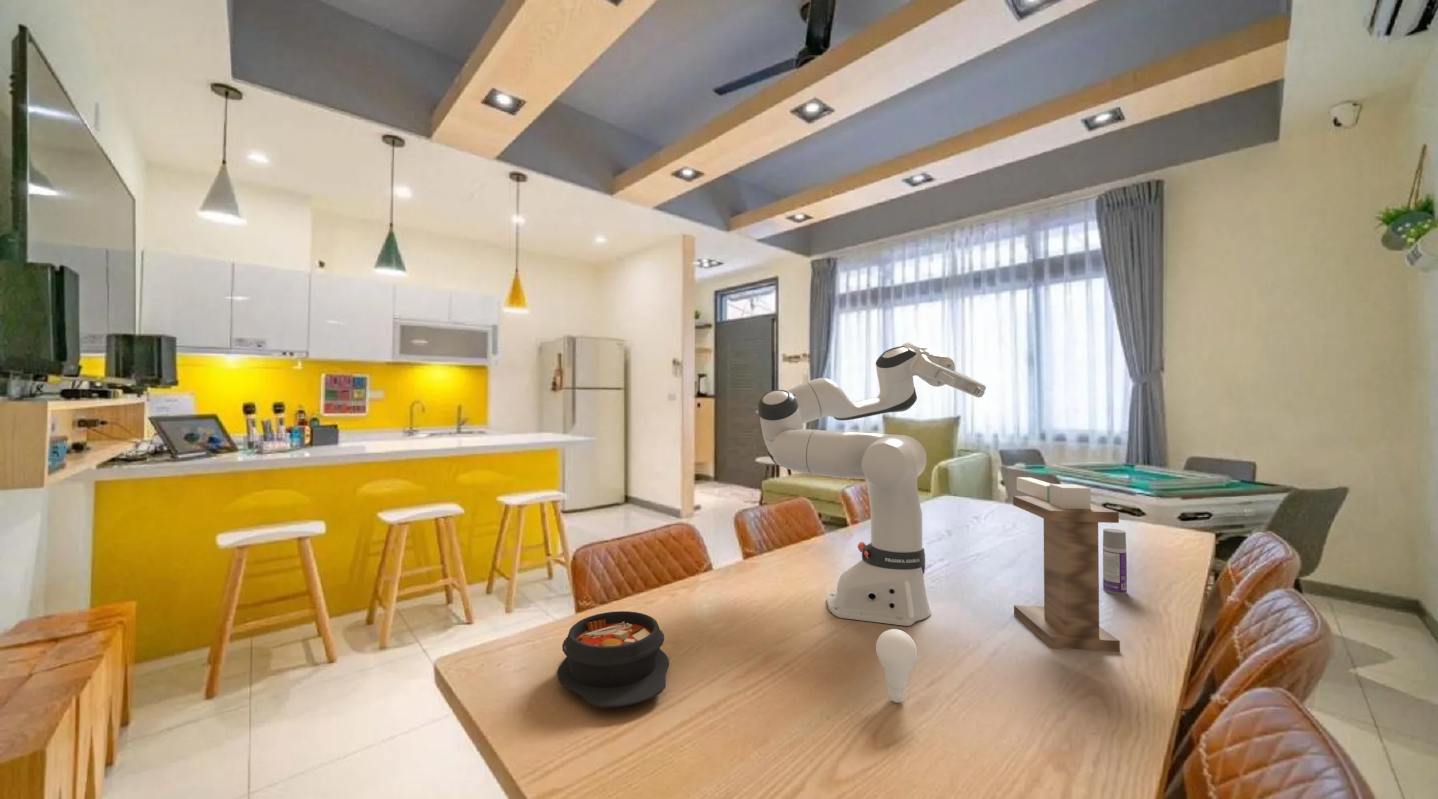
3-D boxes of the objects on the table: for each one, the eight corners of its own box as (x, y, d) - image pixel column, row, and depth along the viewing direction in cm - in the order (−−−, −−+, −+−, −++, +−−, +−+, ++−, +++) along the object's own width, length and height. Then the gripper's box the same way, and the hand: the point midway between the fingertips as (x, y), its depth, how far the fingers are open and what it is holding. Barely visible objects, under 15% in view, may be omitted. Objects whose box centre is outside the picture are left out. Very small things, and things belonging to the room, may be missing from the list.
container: (1118, 588, 131) (1118, 528, 131) (1131, 595, 126) (1130, 533, 126) (1098, 587, 131) (1098, 528, 132) (1110, 594, 127) (1110, 532, 127)
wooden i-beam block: (1051, 648, 99) (1050, 510, 99) (1014, 614, 115) (1013, 496, 115) (1119, 651, 97) (1118, 512, 98) (1072, 616, 113) (1071, 497, 114)
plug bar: (1062, 508, 101) (1062, 487, 101) (1012, 489, 123) (1012, 472, 124) (1090, 509, 101) (1090, 488, 101) (1034, 490, 123) (1034, 473, 123)
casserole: (548, 656, 96) (548, 610, 96) (645, 637, 104) (645, 594, 104) (569, 733, 73) (569, 673, 73) (692, 702, 81) (692, 648, 81)
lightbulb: (919, 696, 82) (918, 626, 83) (916, 717, 77) (915, 642, 77) (879, 687, 85) (878, 619, 85) (873, 707, 79) (873, 634, 80)
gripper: (959, 391, 149) (990, 411, 136) (902, 368, 143) (930, 386, 130) (971, 372, 147) (1004, 390, 135) (914, 347, 141) (943, 363, 128)
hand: (967, 388), depth 132 cm, fingers open, 8 cm apart
